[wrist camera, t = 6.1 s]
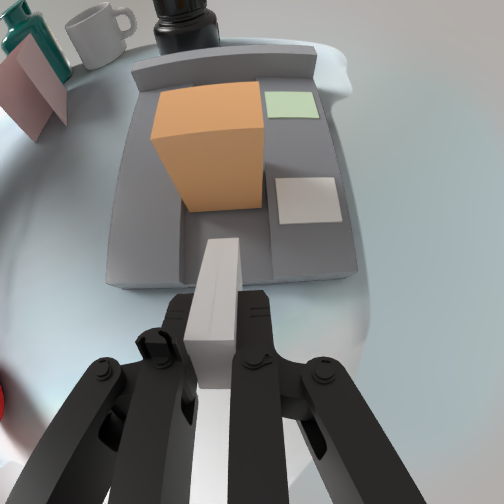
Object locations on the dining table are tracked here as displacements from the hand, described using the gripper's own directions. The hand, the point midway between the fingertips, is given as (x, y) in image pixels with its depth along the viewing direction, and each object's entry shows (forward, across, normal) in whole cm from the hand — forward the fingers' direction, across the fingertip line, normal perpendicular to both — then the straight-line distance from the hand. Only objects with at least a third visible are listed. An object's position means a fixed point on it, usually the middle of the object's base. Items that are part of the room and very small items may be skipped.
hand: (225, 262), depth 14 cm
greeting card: (+26, -27, +13) cm, 40 cm away
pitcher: (+35, -36, +22) cm, 54 cm away
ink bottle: (+31, -6, +18) cm, 36 cm away
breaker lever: (+11, -1, +1) cm, 11 cm away
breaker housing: (+15, -1, +2) cm, 15 cm away
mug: (+36, -22, +23) cm, 48 cm away
